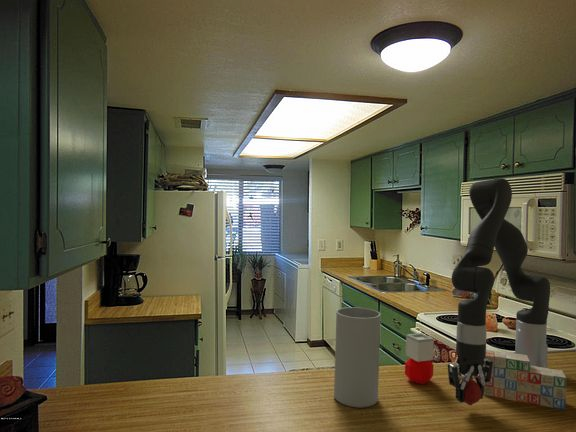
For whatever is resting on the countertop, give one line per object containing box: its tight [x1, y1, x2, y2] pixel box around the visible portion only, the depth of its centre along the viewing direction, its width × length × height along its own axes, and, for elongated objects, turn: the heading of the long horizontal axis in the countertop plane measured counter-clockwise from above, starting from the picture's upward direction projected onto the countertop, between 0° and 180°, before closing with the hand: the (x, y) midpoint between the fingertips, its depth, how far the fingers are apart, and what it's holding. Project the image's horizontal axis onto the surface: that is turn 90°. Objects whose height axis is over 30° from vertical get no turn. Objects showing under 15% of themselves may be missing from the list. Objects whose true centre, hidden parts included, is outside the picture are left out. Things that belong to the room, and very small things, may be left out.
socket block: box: [405, 332, 435, 362], centre depth 134 cm, size 6×6×7 cm
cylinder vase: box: [333, 306, 381, 409], centre depth 120 cm, size 12×12×25 cm
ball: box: [404, 357, 434, 385], centre depth 134 cm, size 8×8×8 cm
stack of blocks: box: [483, 349, 567, 411], centre depth 124 cm, size 21×6×12 cm, turn 65°
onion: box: [460, 376, 482, 406], centre depth 115 cm, size 6×6×8 cm
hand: (469, 399), depth 115 cm, fingers closed on onion, 6 cm apart
